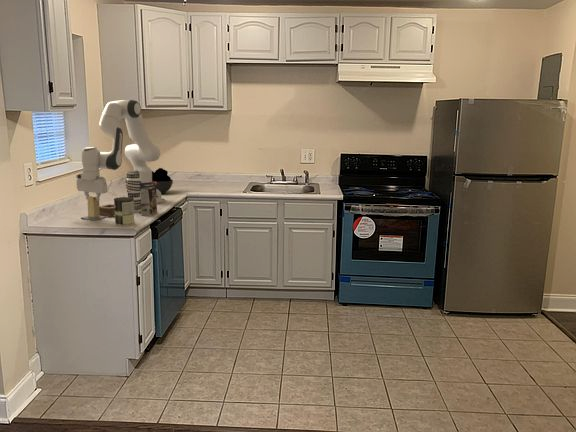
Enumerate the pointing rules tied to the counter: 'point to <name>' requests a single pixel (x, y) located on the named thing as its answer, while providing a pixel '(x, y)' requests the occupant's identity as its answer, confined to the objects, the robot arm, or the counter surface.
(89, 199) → the wooden square peg
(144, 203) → the coffee box
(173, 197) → the counter surface
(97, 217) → the rubber mat
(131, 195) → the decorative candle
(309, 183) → the counter surface
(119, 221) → the coffee can
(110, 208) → the socket block
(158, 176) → the coal bowl
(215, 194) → the counter surface
